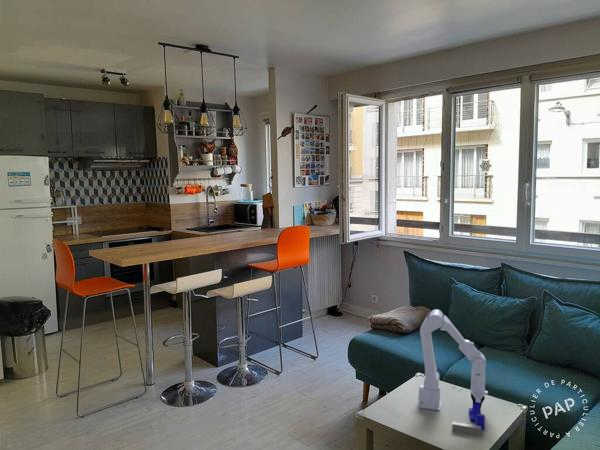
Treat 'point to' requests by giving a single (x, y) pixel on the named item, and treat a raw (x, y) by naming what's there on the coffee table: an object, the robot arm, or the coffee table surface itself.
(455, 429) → the socket strip
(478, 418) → the cable clip
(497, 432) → the coffee table surface
